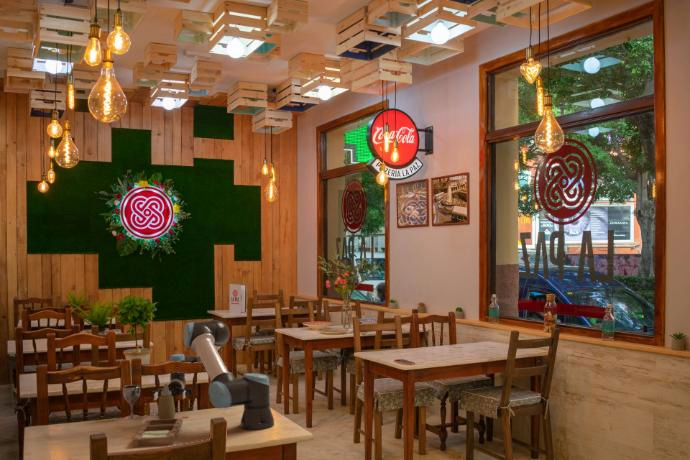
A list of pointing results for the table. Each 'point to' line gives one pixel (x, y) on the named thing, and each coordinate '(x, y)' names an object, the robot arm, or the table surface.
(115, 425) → the table surface
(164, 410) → the squeeze bottle
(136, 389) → the wine glass
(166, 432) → the board
